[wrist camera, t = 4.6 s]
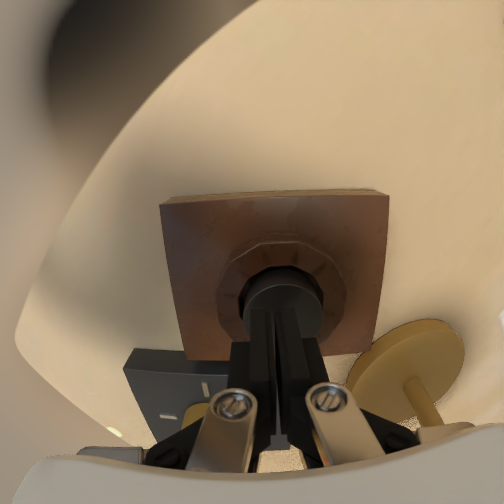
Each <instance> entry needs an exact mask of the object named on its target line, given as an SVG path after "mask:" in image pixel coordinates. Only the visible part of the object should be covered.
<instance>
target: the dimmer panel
mask: <svg viewBox="0 0 504 504" xmlns="http://www.w3.org/2000/svg"><path fill="white" fill-rule="evenodd" d="M123 371H124V373H125V376H126V378H127V380H128V383H129V385H130V387H131V390H132V392H133V394H134V396H135V399H136V401H137V403H138V405H139V407H140V410H141V412H142V414H143V416H144V418H145V420H146V422H147V424H148V426H149V428H150V430H151V432H152V434H153V435H154V437H155V439H156V441H157V443H159V442H161V441H163V440H164V439H166V438H168V437H170V436H171V435H173V434H175V433H177V432H178V431H180V430H181V427H182V423H183V419H184V415H185V412H186V410H187V409H188V408H189V407H191V406H192V405H195V404H198V403H210V401H211V399H212V397H213V396H214V395H215V394H217V393H218V392H220V391H222V390H225V389H227V380H228V371H229V361H212V360H187V359H186V355H185V351H163V350H147V349H133V351H132V353H131V355H130V356H129V358H128V360H127V362H126V363H125V365H124V367H123ZM276 383H277V381H276ZM290 447H291V444H290V442H287V435H281V428H280V416H279V404H278V392H277V418H276V435H272V436H271V445H270V446H269V447H268V448H266V449H265V450H264V451H273V450H290Z"/></svg>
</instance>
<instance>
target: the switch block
mask: <svg viewBox="0 0 504 504" xmlns="http://www.w3.org/2000/svg"><path fill="white" fill-rule="evenodd" d="M159 207H160V215H161V223H162V230H163V238H164V245H165V251H166V258H167V264H168V270H169V276H170V282H171V287H172V293H173V298H174V304H175V309H176V314H177V319H178V324H179V328H180V333H181V338H182V342H183V346H184V351H185V355H186V359H187V360H212V361H230V352H231V343H232V342H242V341H250V337H249V336H248V334H247V332H246V330H245V328H244V324H243V313H244V303H245V295H246V292H247V290H248V288H249V286H250V284H251V283H252V282H253V281H254V280H255V279H256V278H257V277H258V276H260V275H261V274H263V273H265V272H268V271H270V270H275V269H290V270H294V271H297V272H299V273H301V274H303V275H304V276H306V277H307V278H308V279H309V280H310V281H311V283H312V284H313V286H314V288H315V290H316V293H317V296H318V298H319V301H320V304H321V307H322V311H323V319H322V324H321V327H320V329H319V331H318V332H317V334H316V335H315V336H314V337H316V339H317V341H318V345H319V348H320V351H321V355H322V356H333V355H342V354H351V353H359V352H367V351H370V350H371V345H372V340H373V335H374V330H375V325H376V319H377V313H378V307H379V301H380V295H381V288H382V280H383V273H384V264H385V255H386V244H387V232H388V217H389V195H386V194H383V193H381V192H378V191H375V190H294V191H265V192H244V193H227V194H212V195H198V196H186V197H175V198H170V199H168V200H167V201H165V202H163V203H161V204H159ZM274 357H275V351H274Z"/></svg>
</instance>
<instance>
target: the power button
mask: <svg viewBox="0 0 504 504" xmlns="http://www.w3.org/2000/svg"><path fill="white" fill-rule="evenodd" d="M291 306H294V309H295V313H296V317H297V321H298V325H299V330H300V334H301V338H311V337H314V336H315V335H316V334H317V332H318V331H319V329H320V327H321V324H322V319H323V311H322V307H321V304H320V301H319V298H318V296H317V293H316V290H315V288H314V286H313V284H312V283H311V281H310V280H309V279H308V278H307V277H306V276H304V275H303V274H301V273H299V272H297V271H294V270H290V269H275V270H270V271H268V272H265V273H263V274H261V275H260V276H258V277H257V278H256V279H255V280H254V281H253V282H252V283H251V284H250V286H249V288H248V290H247V292H246V295H245V303H244V313H243V324H244V328H245V330H246V332H247V334H248V336H249V337H250V313H251V309H253V308H265V312H267V311H270V315H271V325H272V336H273V346H274V351H275V315H274V312H275V311H280V307H291Z"/></svg>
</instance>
